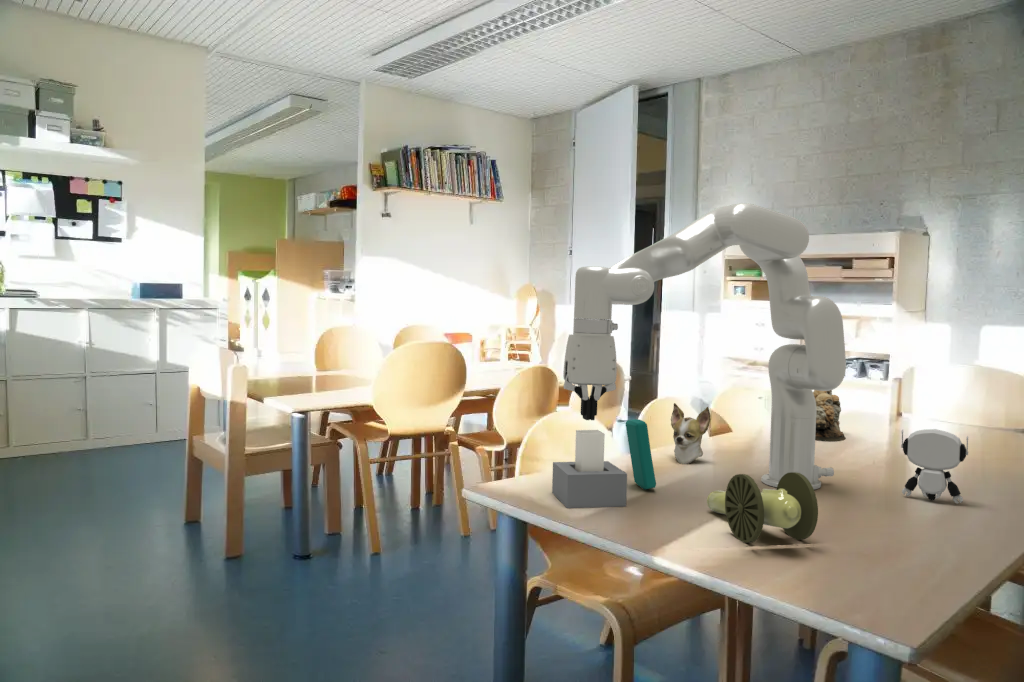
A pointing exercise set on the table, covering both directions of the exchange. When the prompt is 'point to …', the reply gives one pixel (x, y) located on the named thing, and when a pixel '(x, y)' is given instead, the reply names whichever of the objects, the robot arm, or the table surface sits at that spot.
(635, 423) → the digital multimeter
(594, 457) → the plug
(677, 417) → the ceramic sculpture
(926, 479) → the robot toy
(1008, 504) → the table surface
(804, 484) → the cannon
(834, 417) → the brown rough lump
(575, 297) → the robot arm
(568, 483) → the socket
